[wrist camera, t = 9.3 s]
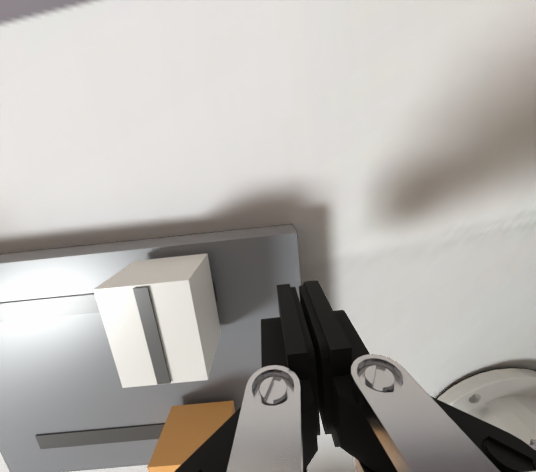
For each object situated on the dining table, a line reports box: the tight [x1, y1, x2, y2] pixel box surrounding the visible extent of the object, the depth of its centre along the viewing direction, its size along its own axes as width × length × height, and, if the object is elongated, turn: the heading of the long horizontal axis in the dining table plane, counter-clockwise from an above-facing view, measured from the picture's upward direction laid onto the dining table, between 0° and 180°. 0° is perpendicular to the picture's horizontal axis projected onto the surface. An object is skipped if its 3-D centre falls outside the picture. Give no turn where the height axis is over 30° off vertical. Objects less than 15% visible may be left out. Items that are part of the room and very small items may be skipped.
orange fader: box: [147, 401, 235, 472], centre depth 15 cm, size 4×5×4 cm
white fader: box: [93, 253, 221, 388], centre depth 13 cm, size 4×5×4 cm
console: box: [0, 224, 301, 472], centre depth 17 cm, size 22×16×3 cm
